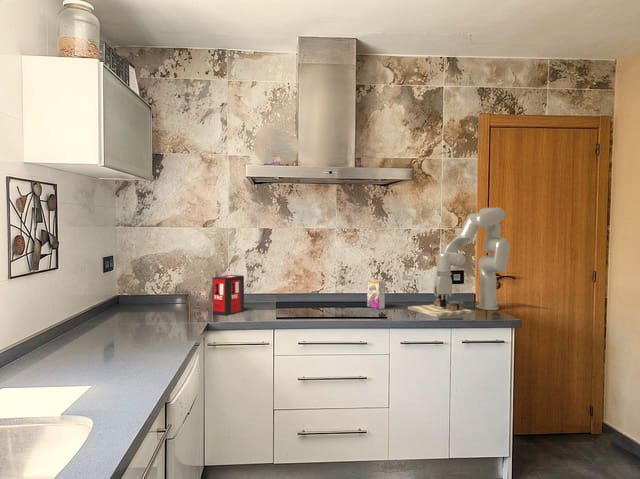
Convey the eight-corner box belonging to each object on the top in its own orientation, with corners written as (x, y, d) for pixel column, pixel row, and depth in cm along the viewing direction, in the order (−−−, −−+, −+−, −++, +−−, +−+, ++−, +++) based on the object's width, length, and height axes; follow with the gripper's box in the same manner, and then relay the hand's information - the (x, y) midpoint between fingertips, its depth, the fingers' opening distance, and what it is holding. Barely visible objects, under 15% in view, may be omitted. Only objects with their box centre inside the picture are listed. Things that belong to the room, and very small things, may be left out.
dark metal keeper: (458, 308, 284) (458, 300, 284) (463, 309, 280) (464, 301, 280) (447, 309, 280) (447, 301, 280) (452, 310, 276) (452, 302, 276)
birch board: (441, 306, 301) (441, 303, 301) (472, 312, 279) (472, 310, 279) (407, 309, 289) (407, 306, 288) (436, 316, 266) (436, 313, 266)
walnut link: (432, 304, 295) (432, 298, 295) (439, 304, 297) (439, 298, 296) (450, 310, 276) (450, 303, 275) (458, 310, 277) (458, 303, 277)
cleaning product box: (225, 315, 262) (225, 278, 261) (212, 314, 266) (212, 277, 265) (243, 311, 277) (243, 275, 276) (230, 309, 280) (230, 274, 280)
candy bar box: (366, 306, 296) (366, 279, 296) (372, 306, 299) (373, 279, 299) (378, 309, 287) (379, 281, 286) (385, 308, 290) (385, 280, 289)
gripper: (450, 273, 288) (449, 305, 288) (428, 274, 283) (427, 305, 283) (458, 275, 281) (457, 307, 281) (436, 275, 276) (435, 308, 276)
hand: (442, 306), depth 282 cm, fingers closed
